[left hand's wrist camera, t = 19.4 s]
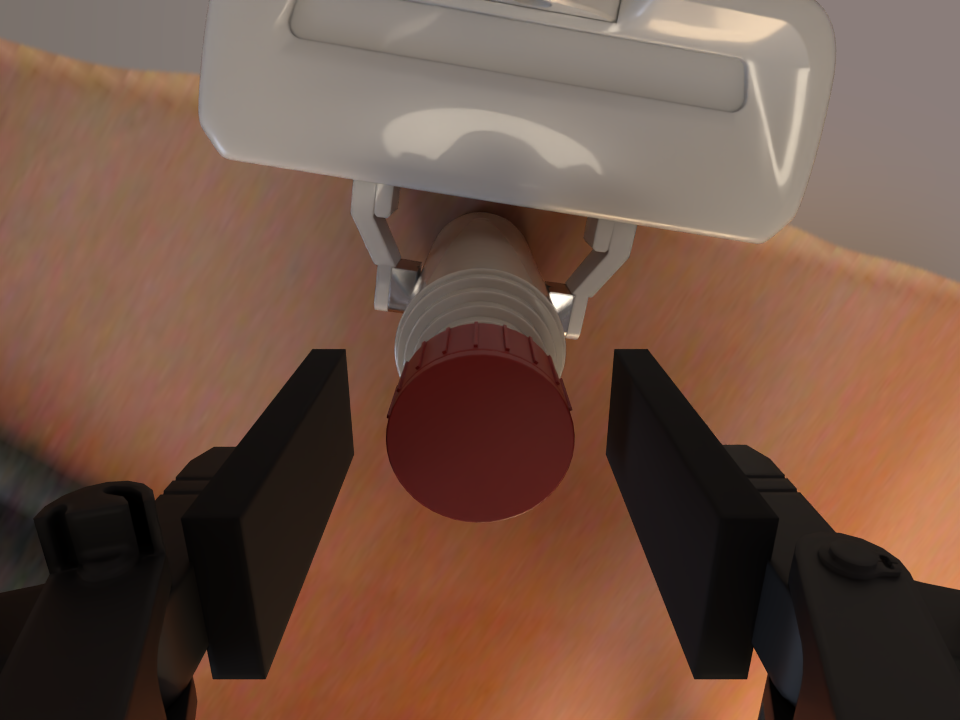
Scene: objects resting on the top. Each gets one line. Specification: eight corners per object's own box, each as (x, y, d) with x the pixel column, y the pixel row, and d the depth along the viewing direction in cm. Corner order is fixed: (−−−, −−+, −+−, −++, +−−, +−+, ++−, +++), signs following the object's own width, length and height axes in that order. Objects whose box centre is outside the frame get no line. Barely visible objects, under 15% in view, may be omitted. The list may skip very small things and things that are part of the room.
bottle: (429, 311, 30) (367, 524, 14) (429, 210, 29) (360, 315, 12) (528, 314, 30) (585, 531, 14) (534, 213, 29) (608, 322, 12)
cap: (570, 322, 14) (586, 355, 12) (557, 474, 15) (569, 528, 13) (396, 316, 14) (381, 348, 12) (398, 470, 15) (385, 522, 13)
